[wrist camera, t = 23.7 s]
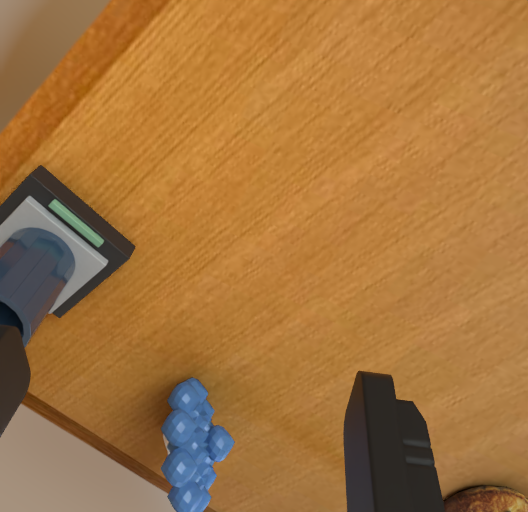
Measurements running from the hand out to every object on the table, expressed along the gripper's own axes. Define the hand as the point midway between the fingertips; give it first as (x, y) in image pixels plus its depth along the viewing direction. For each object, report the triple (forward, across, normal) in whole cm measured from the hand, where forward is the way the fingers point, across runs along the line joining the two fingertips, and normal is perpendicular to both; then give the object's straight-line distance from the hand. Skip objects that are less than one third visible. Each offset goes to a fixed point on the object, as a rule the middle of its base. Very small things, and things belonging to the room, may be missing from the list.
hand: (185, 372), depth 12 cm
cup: (+24, +17, +16) cm, 34 cm away
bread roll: (+27, -31, +49) cm, 64 cm away
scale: (+27, +17, +16) cm, 36 cm away
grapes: (+26, +3, +34) cm, 43 cm away
